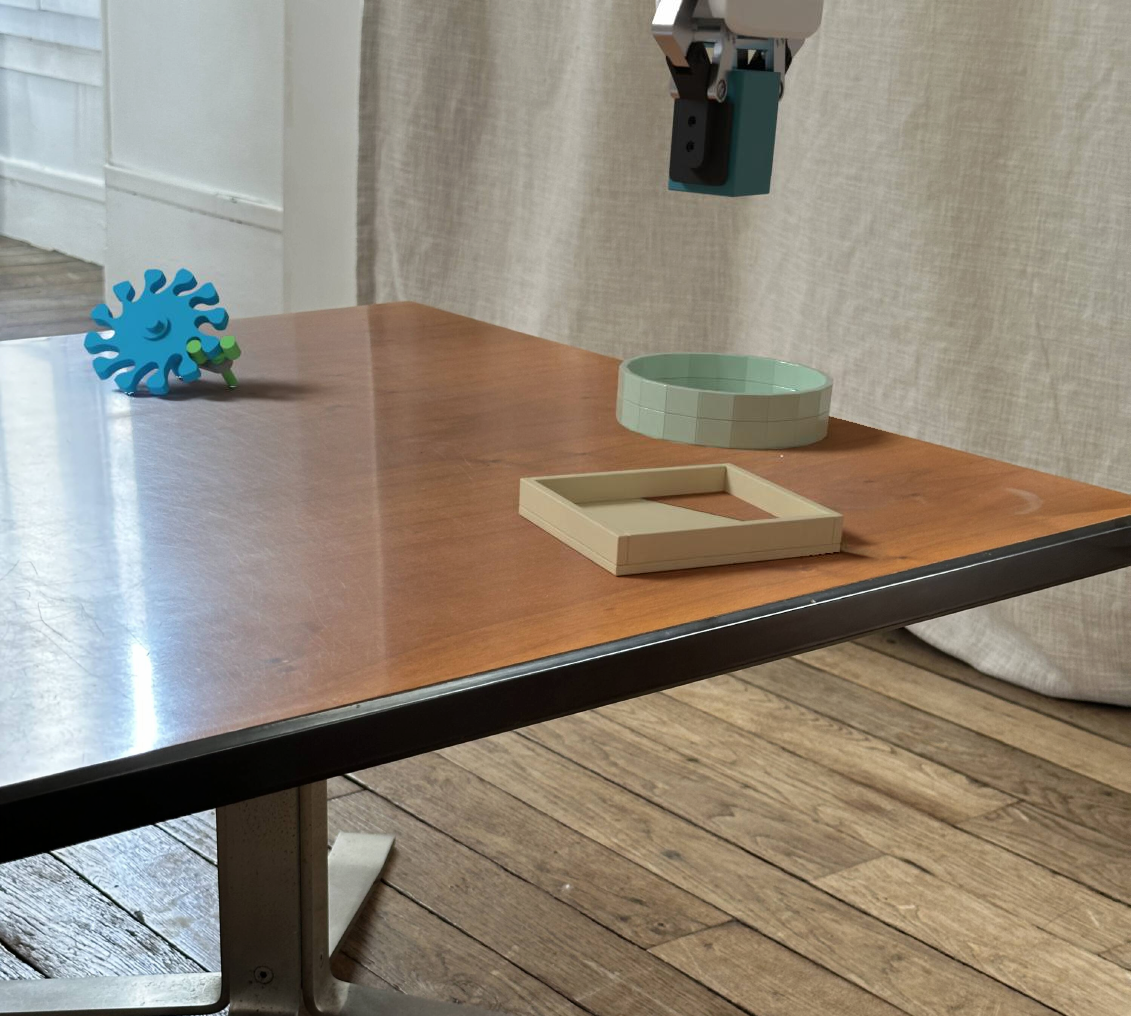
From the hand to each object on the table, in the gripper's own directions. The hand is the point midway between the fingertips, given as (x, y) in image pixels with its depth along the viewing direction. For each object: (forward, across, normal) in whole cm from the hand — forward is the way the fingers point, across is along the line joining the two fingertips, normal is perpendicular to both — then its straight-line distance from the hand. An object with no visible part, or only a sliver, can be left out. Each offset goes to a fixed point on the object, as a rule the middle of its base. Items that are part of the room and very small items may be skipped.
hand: (720, 178), depth 85 cm
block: (+1, 0, 0) cm, 1 cm away
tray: (+17, -7, -3) cm, 19 cm away
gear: (+17, -2, +41) cm, 45 cm away
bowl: (+17, +16, +7) cm, 24 cm away
